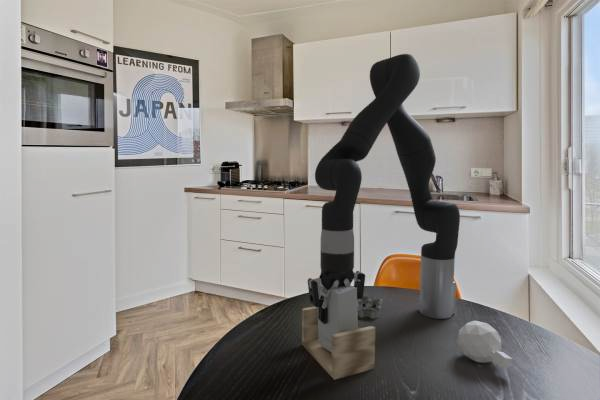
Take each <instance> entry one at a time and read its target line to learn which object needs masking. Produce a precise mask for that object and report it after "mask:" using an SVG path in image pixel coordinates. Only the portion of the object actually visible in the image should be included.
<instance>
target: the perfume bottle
mask: <svg viewBox="0 0 600 400" xmlns="http://www.w3.org/2000/svg"><path fill="white" fill-rule="evenodd" d="M457 344H458V346H459V348H460V349H461V350H460V351H461V352H462V353H463V356H465V357H467V358H469V359H470V360H471V361H474V362H476V363H481V364H485V363H486V364H487V363H491V362H493V363H494V364H496V365H497V366H498V367H499V368H500V369H509V368H510V365H511V363H512V361H513V358H512V357H510V356H509V355H508V354H506V353H505V352H503V351H502V339H501V337H500V334H499V333H498V331H497V330H496V329H495V328H494V327H493V326H491V325H490V324H489V323H488V322H487V323H486V322H482V321H479V320H472V321H469V322H467V323H465V324H464V325H463V326H462V327H460V329H459V330H458V337H457Z"/></svg>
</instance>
